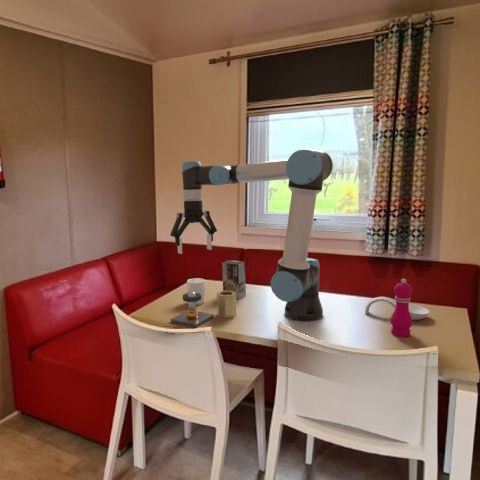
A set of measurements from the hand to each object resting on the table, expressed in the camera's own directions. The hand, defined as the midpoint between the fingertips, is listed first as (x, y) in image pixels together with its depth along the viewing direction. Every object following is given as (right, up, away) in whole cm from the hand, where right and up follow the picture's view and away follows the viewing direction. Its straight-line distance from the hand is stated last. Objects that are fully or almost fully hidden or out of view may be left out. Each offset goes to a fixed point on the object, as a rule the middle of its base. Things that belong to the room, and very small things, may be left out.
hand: (195, 251), depth 167 cm
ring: (0, -18, -11) cm, 21 cm away
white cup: (-1, -23, +11) cm, 26 cm away
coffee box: (+16, -21, +20) cm, 33 cm away
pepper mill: (+75, -29, -25) cm, 84 cm away
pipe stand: (0, -26, -10) cm, 28 cm away
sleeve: (+13, -25, -5) cm, 29 cm away
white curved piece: (+81, -26, -7) cm, 85 cm away
